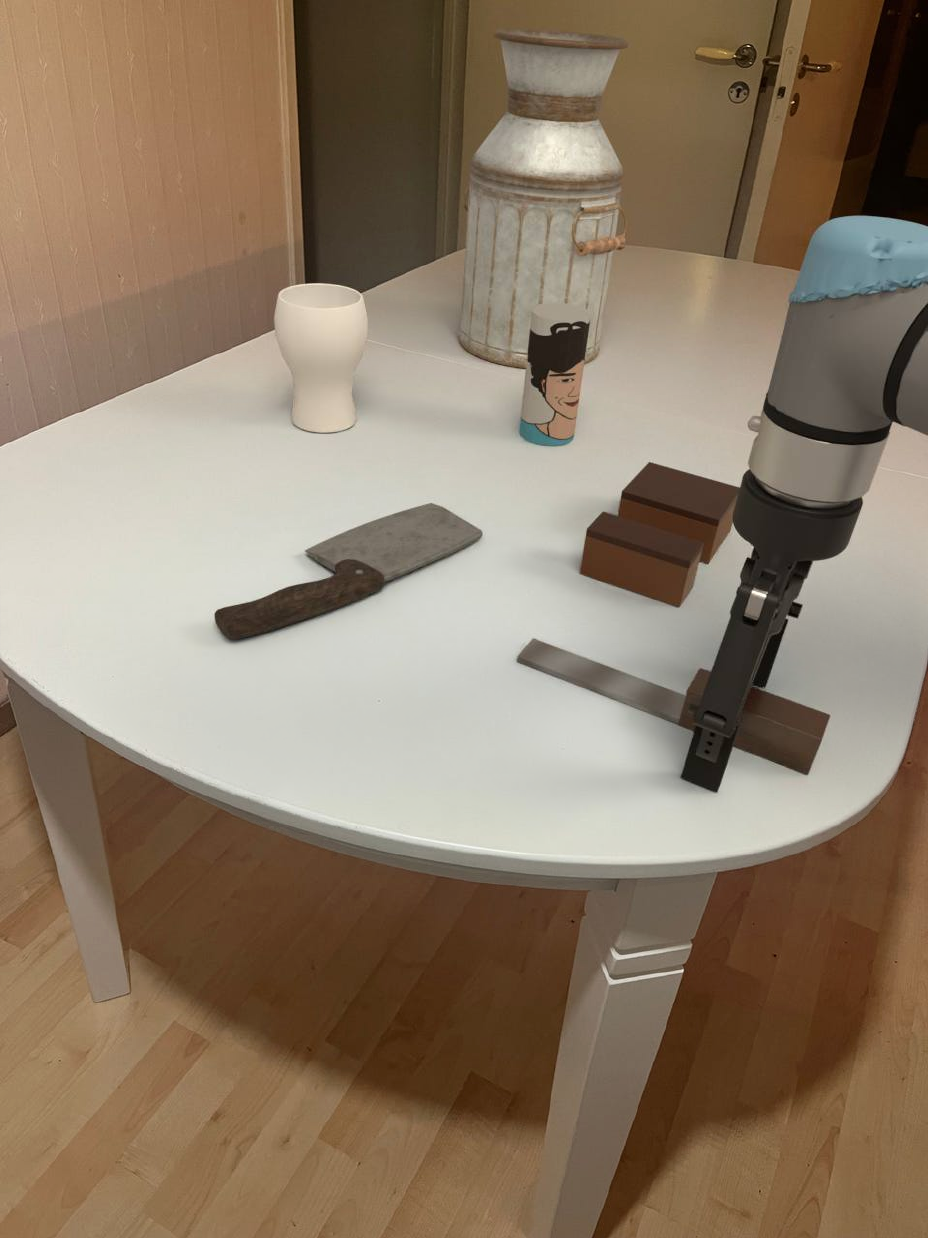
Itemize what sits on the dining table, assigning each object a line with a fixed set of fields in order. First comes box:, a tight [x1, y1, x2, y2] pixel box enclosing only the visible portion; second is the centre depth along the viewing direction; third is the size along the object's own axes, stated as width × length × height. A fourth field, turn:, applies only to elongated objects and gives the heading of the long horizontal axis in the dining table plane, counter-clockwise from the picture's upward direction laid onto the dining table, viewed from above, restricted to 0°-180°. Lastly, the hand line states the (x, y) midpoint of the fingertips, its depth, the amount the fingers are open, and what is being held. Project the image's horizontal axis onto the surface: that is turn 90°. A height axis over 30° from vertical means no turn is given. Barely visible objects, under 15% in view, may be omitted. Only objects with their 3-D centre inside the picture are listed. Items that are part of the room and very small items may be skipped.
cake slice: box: [579, 511, 704, 608], centre depth 86 cm, size 10×4×5 cm, turn 61°
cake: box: [617, 461, 740, 565], centre depth 94 cm, size 10×8×5 cm
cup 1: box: [273, 282, 369, 434], centre depth 108 cm, size 11×11×15 cm
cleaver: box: [214, 502, 484, 640], centre depth 85 cm, size 30×10×2 cm, turn 137°
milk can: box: [457, 28, 629, 369], centre depth 128 cm, size 24×21×40 cm
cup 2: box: [518, 303, 591, 447], centre depth 109 cm, size 7×7×15 cm
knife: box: [516, 638, 831, 776], centre depth 72 cm, size 24×3×4 cm, turn 61°
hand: (726, 727), depth 71 cm, fingers open, 13 cm apart
